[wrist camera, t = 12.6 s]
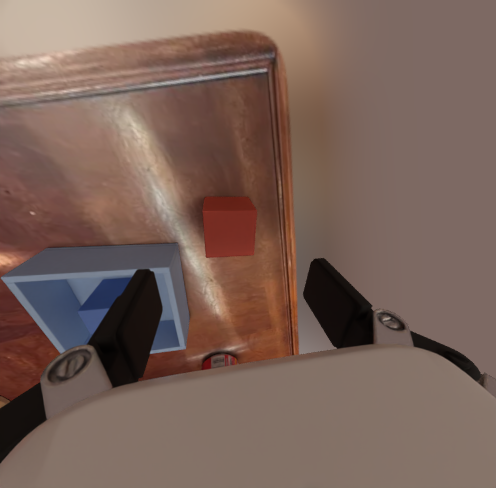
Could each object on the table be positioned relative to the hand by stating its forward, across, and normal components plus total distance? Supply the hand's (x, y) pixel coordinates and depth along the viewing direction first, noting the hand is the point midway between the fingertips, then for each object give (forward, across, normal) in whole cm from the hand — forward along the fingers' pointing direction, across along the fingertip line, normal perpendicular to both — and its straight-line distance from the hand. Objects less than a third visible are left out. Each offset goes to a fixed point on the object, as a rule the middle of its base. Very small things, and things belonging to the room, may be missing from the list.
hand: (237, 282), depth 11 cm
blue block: (+10, +11, +8) cm, 17 cm away
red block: (+10, 0, -1) cm, 10 cm away
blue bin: (+10, +11, +8) cm, 17 cm away
